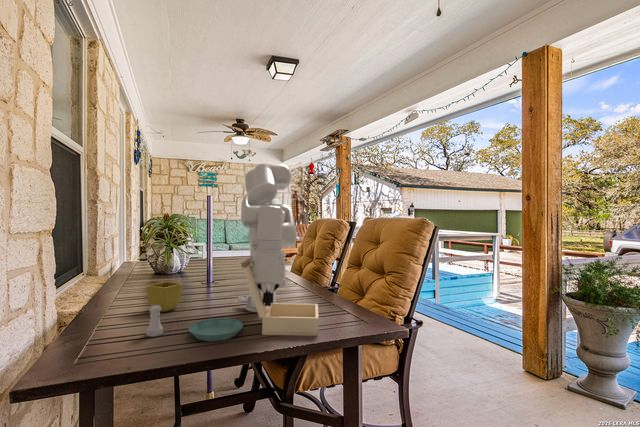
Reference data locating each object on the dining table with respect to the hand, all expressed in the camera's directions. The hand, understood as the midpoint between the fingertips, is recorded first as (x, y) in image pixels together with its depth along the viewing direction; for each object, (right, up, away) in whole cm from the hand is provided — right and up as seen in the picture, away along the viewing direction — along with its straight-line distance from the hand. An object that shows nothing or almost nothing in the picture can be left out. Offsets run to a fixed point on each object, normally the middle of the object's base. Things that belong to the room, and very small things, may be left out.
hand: (268, 305), depth 106 cm
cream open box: (+7, -7, +1) cm, 10 cm away
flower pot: (-39, -6, +16) cm, 43 cm away
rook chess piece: (-31, -6, -9) cm, 32 cm away
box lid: (-3, +6, +1) cm, 7 cm away
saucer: (-14, -7, -8) cm, 17 cm away
